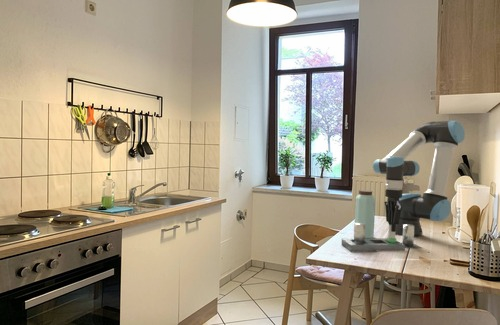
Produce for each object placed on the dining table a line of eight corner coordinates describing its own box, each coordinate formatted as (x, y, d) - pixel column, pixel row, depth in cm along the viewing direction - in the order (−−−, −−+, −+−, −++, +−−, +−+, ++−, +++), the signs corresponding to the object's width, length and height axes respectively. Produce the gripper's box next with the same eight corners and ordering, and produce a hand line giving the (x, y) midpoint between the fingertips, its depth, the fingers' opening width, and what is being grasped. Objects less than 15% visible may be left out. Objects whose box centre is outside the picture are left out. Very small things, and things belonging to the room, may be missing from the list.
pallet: (392, 244, 181) (392, 238, 181) (404, 251, 169) (405, 245, 169) (341, 244, 178) (341, 238, 178) (350, 251, 166) (351, 245, 166)
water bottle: (374, 240, 187) (377, 192, 186) (354, 239, 189) (356, 191, 188) (372, 236, 197) (374, 190, 196) (353, 234, 199) (355, 189, 198)
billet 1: (361, 243, 176) (362, 222, 175) (366, 246, 171) (367, 225, 170) (351, 243, 175) (352, 222, 175) (355, 246, 170) (356, 225, 170)
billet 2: (409, 244, 180) (410, 224, 180) (415, 246, 175) (416, 226, 175) (400, 244, 180) (401, 224, 179) (405, 246, 175) (406, 226, 175)
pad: (411, 243, 183) (411, 242, 183) (423, 249, 173) (423, 248, 173) (392, 243, 182) (393, 242, 182) (403, 249, 172) (403, 248, 172)
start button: (393, 241, 177) (393, 237, 177) (397, 244, 173) (398, 239, 173) (385, 241, 176) (385, 237, 176) (389, 244, 172) (389, 239, 172)
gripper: (380, 187, 180) (377, 234, 181) (393, 190, 167) (390, 241, 168) (394, 187, 180) (392, 234, 181) (408, 190, 167) (406, 241, 168)
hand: (391, 237), depth 174 cm, fingers closed
